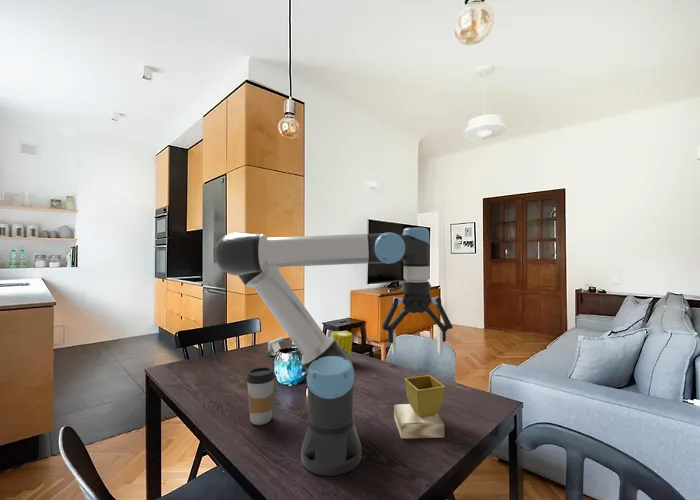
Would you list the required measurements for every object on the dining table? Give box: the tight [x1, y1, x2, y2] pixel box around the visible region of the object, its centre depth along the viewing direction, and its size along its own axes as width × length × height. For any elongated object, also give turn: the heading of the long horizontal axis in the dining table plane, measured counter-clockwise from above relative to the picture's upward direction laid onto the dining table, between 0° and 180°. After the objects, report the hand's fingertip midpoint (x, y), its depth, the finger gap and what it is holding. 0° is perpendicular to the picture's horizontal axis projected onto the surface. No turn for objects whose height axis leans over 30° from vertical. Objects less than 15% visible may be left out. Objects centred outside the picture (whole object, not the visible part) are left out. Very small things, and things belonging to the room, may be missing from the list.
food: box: [331, 330, 354, 359], centre depth 153 cm, size 15×12×10 cm
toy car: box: [265, 337, 296, 358], centre depth 165 cm, size 18×10×12 cm
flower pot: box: [404, 374, 446, 417], centre depth 98 cm, size 9×9×9 cm
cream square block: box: [393, 403, 445, 439], centre depth 99 cm, size 12×12×4 cm
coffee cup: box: [246, 366, 275, 426], centre depth 103 cm, size 8×8×15 cm
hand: (416, 353), depth 98 cm, fingers open, 13 cm apart
